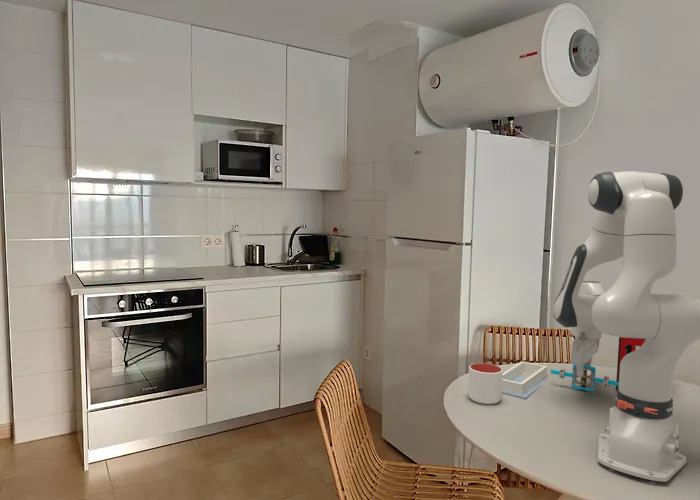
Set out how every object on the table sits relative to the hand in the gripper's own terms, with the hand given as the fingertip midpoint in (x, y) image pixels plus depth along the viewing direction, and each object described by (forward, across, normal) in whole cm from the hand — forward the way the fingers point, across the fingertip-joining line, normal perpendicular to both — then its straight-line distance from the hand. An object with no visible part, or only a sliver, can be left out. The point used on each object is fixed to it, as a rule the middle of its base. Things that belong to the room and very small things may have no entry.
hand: (583, 371), depth 160 cm
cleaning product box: (+7, +14, -13) cm, 21 cm away
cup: (+7, -28, +22) cm, 36 cm away
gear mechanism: (+7, +1, 0) cm, 7 cm away
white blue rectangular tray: (+7, -6, +18) cm, 20 cm away
